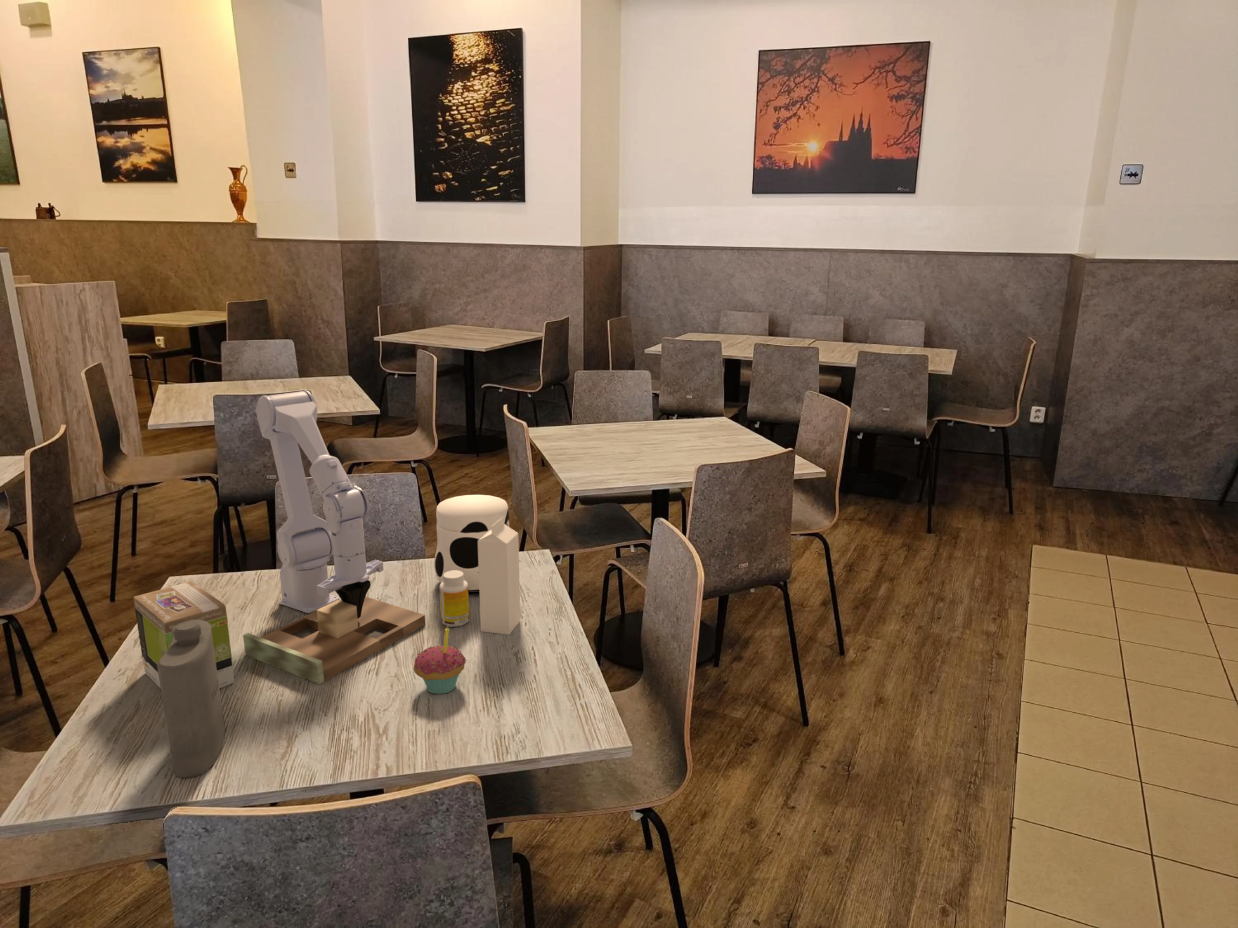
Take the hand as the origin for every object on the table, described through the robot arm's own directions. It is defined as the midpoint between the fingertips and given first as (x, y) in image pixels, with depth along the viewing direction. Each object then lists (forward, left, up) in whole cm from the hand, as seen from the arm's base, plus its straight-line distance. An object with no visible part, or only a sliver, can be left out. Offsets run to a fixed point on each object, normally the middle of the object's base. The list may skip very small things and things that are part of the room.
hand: (354, 617), depth 156 cm
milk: (+23, +16, -3) cm, 28 cm away
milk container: (+5, +30, -3) cm, 30 cm away
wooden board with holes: (0, -4, -3) cm, 5 cm away
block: (0, -4, -1) cm, 4 cm away
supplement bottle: (+14, +13, -3) cm, 19 cm away
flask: (+9, -38, -3) cm, 39 cm away
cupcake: (+28, -7, -3) cm, 29 cm away
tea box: (-11, -27, -3) cm, 29 cm away
